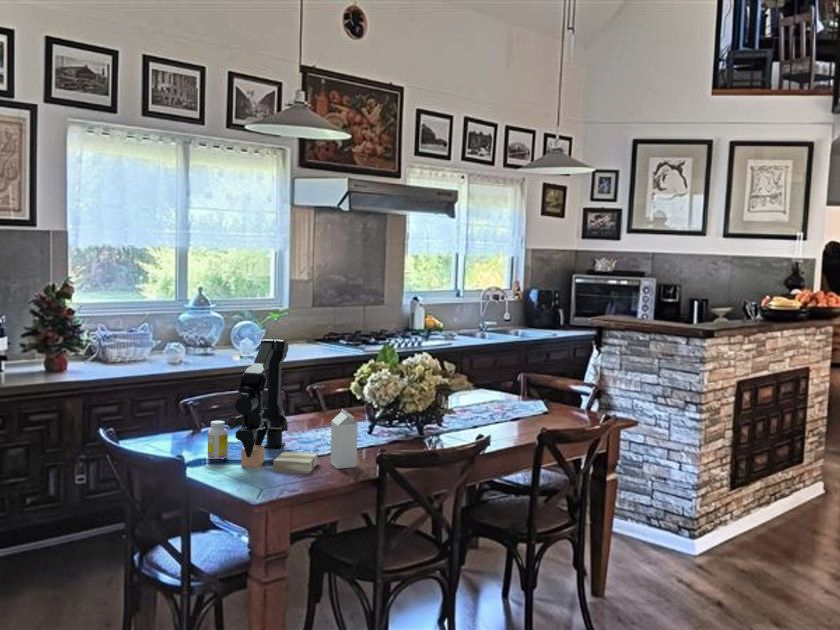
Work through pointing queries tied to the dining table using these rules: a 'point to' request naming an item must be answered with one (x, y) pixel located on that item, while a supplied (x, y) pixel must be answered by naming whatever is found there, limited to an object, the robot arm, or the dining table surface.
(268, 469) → the dining table surface
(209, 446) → the supplement bottle
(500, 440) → the dining table surface
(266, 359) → the robot arm
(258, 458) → the tan cube
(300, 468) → the birch block
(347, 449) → the milk carton
